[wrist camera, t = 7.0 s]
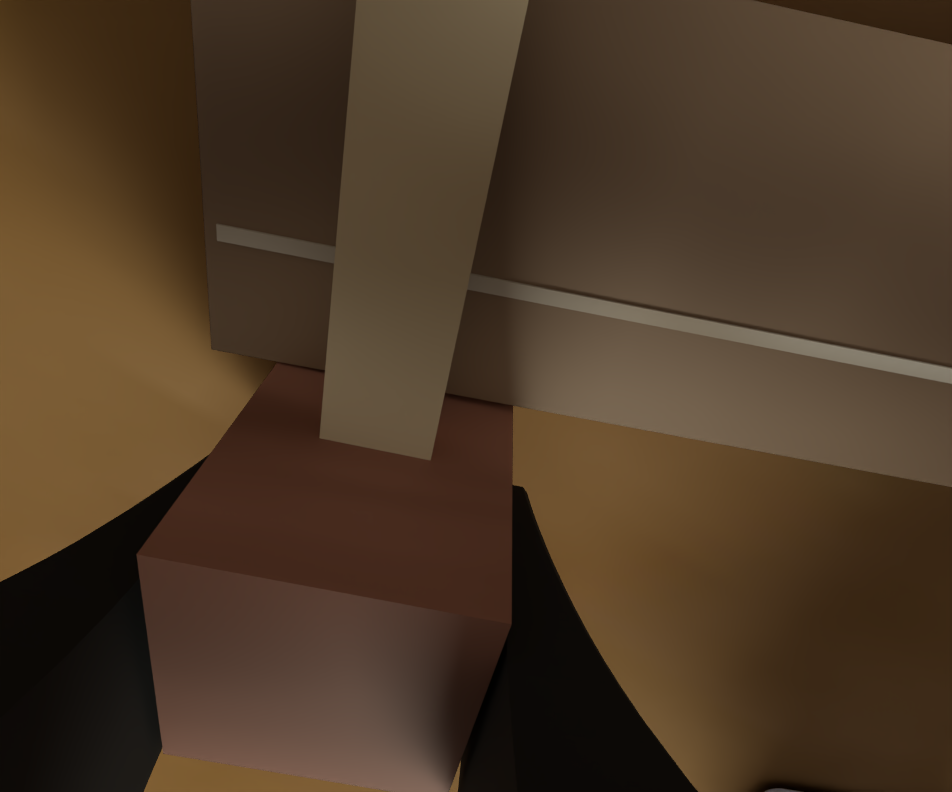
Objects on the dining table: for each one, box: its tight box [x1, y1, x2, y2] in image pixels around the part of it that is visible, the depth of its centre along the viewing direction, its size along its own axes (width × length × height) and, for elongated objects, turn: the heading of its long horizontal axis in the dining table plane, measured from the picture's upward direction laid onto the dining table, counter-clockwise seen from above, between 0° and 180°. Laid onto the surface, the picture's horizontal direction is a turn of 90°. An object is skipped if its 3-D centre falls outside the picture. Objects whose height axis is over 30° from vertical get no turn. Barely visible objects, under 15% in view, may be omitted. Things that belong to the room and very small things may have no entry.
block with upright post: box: [136, 0, 529, 792], centre depth 8 cm, size 10×4×6 cm, turn 168°
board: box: [191, 0, 952, 487], centre depth 9 cm, size 6×14×2 cm, turn 80°
